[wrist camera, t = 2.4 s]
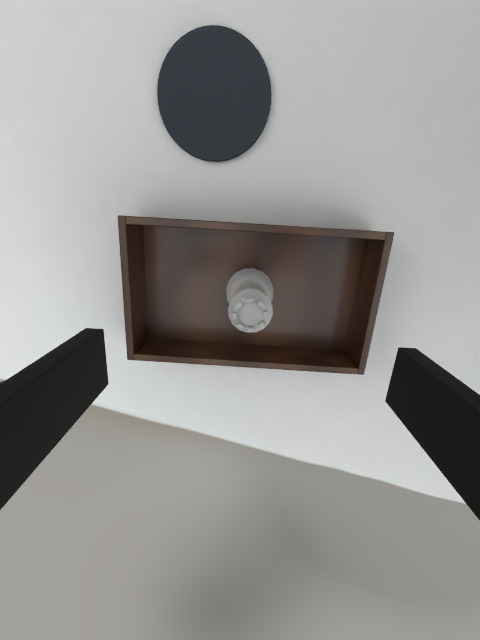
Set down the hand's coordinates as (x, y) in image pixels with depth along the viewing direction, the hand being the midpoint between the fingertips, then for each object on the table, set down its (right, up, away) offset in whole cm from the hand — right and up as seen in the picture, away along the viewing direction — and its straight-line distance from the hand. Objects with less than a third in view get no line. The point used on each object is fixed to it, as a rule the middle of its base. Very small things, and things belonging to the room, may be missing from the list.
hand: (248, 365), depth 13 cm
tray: (+1, +5, +15) cm, 16 cm away
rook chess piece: (+1, +5, +15) cm, 16 cm away
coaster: (-2, +20, +10) cm, 22 cm away
